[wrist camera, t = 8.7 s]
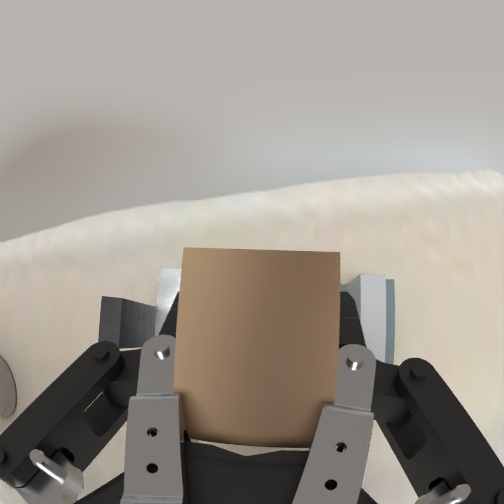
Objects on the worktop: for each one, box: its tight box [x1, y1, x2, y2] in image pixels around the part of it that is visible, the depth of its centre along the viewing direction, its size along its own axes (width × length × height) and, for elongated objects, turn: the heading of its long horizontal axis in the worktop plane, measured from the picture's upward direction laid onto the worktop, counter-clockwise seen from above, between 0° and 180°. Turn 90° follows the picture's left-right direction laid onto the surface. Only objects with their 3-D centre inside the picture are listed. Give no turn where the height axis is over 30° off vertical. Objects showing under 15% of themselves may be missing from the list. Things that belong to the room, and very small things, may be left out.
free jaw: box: [98, 268, 181, 348], centre depth 21 cm, size 4×9×10 cm, turn 177°
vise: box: [340, 274, 395, 364], centre depth 24 cm, size 20×9×6 cm, turn 87°
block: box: [173, 248, 340, 448], centre depth 11 cm, size 4×5×9 cm
